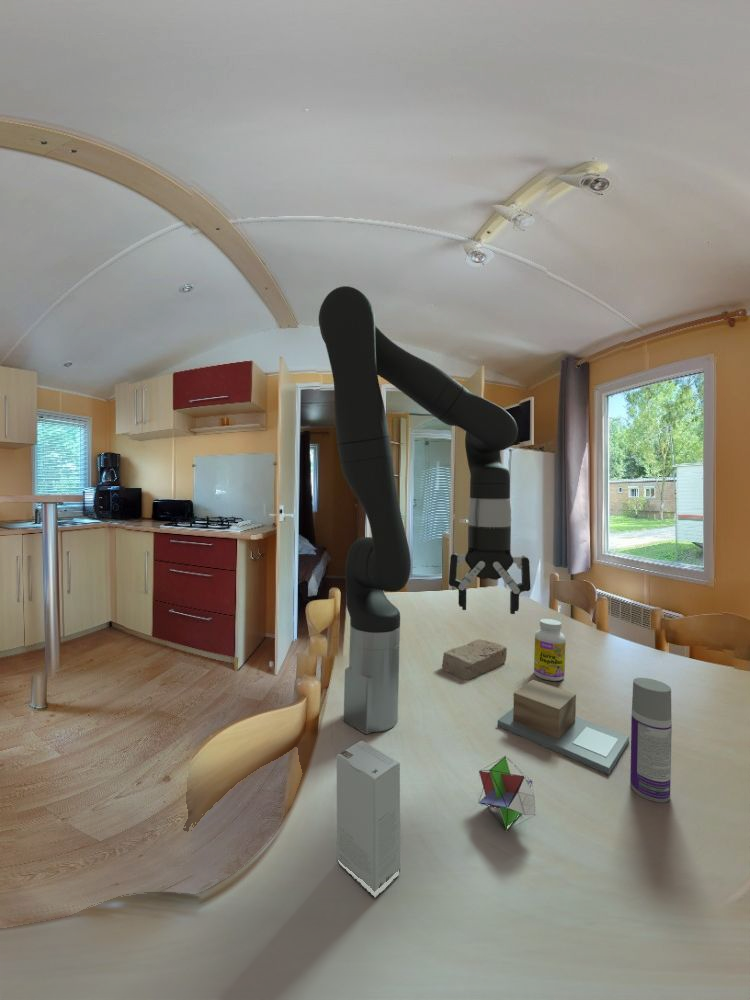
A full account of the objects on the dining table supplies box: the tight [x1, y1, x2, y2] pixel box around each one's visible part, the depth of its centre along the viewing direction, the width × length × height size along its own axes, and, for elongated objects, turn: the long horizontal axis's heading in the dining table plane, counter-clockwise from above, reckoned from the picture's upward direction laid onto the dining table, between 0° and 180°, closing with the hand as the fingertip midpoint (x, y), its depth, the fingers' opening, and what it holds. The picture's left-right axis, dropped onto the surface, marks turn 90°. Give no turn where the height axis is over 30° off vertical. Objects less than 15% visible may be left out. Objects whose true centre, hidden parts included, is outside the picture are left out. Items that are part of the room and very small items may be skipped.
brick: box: [441, 638, 508, 681], centre depth 100 cm, size 17×8×5 cm, turn 131°
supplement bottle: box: [533, 618, 567, 682], centre depth 95 cm, size 7×7×13 cm
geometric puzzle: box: [477, 754, 537, 831], centre depth 51 cm, size 7×7×8 cm
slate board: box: [497, 708, 630, 775], centre depth 71 cm, size 12×18×1 cm, turn 45°
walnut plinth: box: [512, 679, 577, 739], centre depth 73 cm, size 8×8×5 cm
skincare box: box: [335, 740, 401, 892], centre depth 44 cm, size 6×4×12 cm
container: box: [629, 677, 673, 803], centre depth 57 cm, size 5×5×15 cm
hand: (488, 610), depth 74 cm, fingers open, 8 cm apart
